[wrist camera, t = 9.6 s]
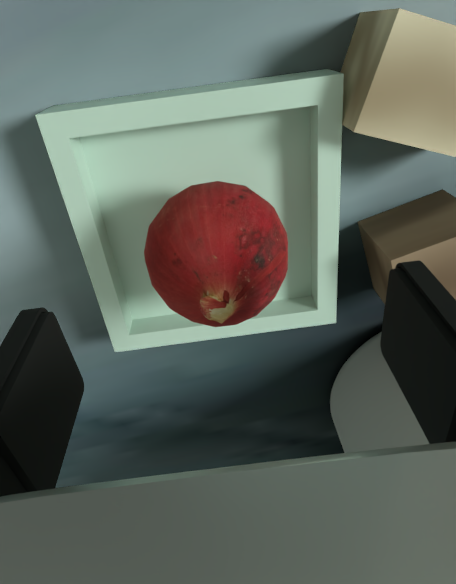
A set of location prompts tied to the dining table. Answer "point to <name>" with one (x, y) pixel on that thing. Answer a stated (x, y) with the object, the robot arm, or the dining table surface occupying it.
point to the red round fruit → (217, 253)
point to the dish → (197, 170)
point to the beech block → (402, 80)
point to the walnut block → (413, 240)
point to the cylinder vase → (372, 404)
